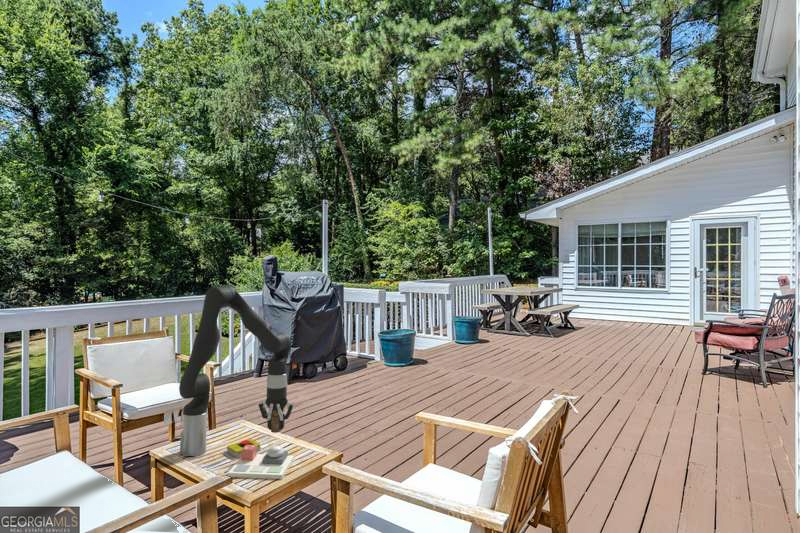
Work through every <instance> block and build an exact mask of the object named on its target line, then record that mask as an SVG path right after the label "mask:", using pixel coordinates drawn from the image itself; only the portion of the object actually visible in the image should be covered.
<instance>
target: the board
mask: <svg viewBox="0 0 800 533" xmlns="http://www.w3.org/2000/svg"><path fill="white" fill-rule="evenodd" d="M293 459H294V460H295V455H289V451H288V450H284V454H283V455H282V456H280V457H275V458H272V457H269V456H268V455H267V453H264V454H263V453H262V454H259V453H257V455H256V457H255V458H254V460H253V461H243V460H242V457H240V458H238V460H237V461H236V462H235V464H234V465H233V466H232V467H231V468H230V469H229V471H227V475H228V476H231V477H230V478H249V479H250V478H251V479H273V480H274V479H277V480H283V478H284V476H285V475H286V473H287V471H288V470H289V468H290V467H291V465H292V464H293V462H292V461H294V460H293ZM290 464H291V465H290ZM289 466H290V467H289Z"/></svg>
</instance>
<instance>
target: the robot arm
mask: <svg viewBox="0 0 800 533" xmlns="http://www.w3.org/2000/svg"><path fill="white" fill-rule="evenodd" d="M204 296H205V297H204V301H203V307H202V313H201V317H200V321H199V326H198V329H197V331H196V332H197V333H196V336H195V337H194V342H193V345H192V349H191V353H190V356H189V359H188V361H187V362H188V363H187V364H186V367H185V369H184V372H183V374H182V376H181V379H180V382H179V386H178V389H179V390H178V391H179V394H180V396H181V398H183V399H185V400H186V399H188V400H189V399H191V400H190V401H189V402H188V403H187V404H186V405H184V407H183V410H182V431H180V438H179V439H180V440H179V441H180V442H179V446H180V448H179V455H180V454H183V455H185V456H195V457H199V456H202V455H203V454H205V453H206V451H207V431H208V430H207V426H208V425H207V423H208V422H207V421H208V420H207V419H208V407H209V405H210V404H209V403H210V394H211V393H210V392H211V382H210V377H209V376H208V375H207V374H206V373H203V372H201V370H202V369H203V368H204V367H205V366H206V364H207V363H208V362H209V361H210V360H211V359H212V358H213V356H215V354H216V352H217V350H218V347H219V344H220V343H219V342H220V341H221V340H220V339H221V333H220V329H219V326H218V318H219V314H220V311H221V309H224V308H230V309H232V310H234V311H235V312H236V313H237V314H238V316H239V317H240V320H241V322H242V325H243V326H244V327H245V329H246V330H248V332H250V333H251V334H252V335H254V336H255V337H256V338H257V340H258V342H259V343H260V345H261V346H262V348H264V349H265V350H266V351H267V352H269V353H271V354H273V355H272V356H271V358H270V359H269V360H268V362H267V377H266V399H265V401H261V402H260V403H258V408H259V410H260V414H261V417H262V418H263V419H264V420H267V423H266V424H267V428H268V430H269V431H271V415H272V411H273V410H278V413H279V416H280V428H279V430H281V431H283V429H284V427H285V420H288V419H289V418H290V416H291V414H292V410H293V409H294V406H295V403H294V402H292V403H291V402H289V401H288V398H287V396H288V392H287V389H288V375H287V369H288V368H287V367H288V366H287V364H288V363H287V362H288V359H289V357H290V355H289V354H290V351H291V345H292V344H291V338H290V336H289V334H288V333H286V332H279V333H274V332H273V331H272V330H273V327H272V325H271V323H269V322H268V321H267V320H265V319H264V317H262V316H261V315H259V314H258V313H257V312H256V311H255V310H254V309H253V308H252V307H251V306H250V305H249V303H248V302H247V301H246V299H244V298H243V297H242V295H241V294H240V293H239V292H238V291H237V289H235V288H234V287H233V286H232V285H230V284H222V285H215V286H212V287H209V288H208V289H207V290H206V293H205V295H204ZM200 372H201V373H200ZM286 406H287V407H286ZM266 407H267V408H268V412H267V409H266ZM285 407H286V408H287V412H286V413H285ZM183 455H182V456H183ZM185 456H184V457H185Z"/></svg>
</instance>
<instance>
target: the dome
mask: <svg viewBox="0 0 800 533" xmlns="http://www.w3.org/2000/svg"><path fill="white" fill-rule="evenodd" d="M284 451H285V449H284V448H283V447H282V446H280V445H272V446H270V447H269V448H268V449H267V452H266V454H267V455H268V456H269V457H272V458H275V457H280V456H282V455H283V454H284Z"/></svg>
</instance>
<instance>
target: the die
mask: <svg viewBox="0 0 800 533" xmlns="http://www.w3.org/2000/svg"><path fill="white" fill-rule="evenodd" d="M257 454H258V452H257V445H245V446H244V448H243V449H242V460H243V461H253V460H254V458H255V457H256V455H257Z"/></svg>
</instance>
